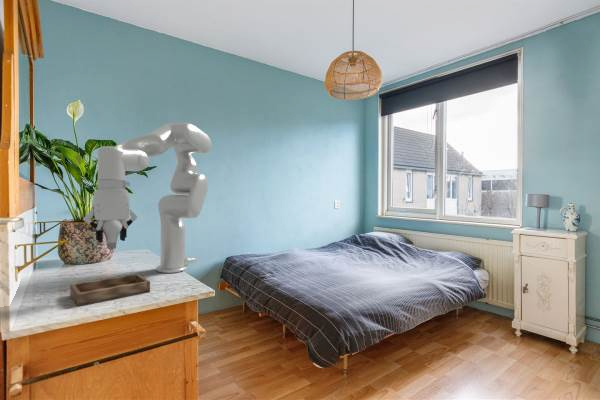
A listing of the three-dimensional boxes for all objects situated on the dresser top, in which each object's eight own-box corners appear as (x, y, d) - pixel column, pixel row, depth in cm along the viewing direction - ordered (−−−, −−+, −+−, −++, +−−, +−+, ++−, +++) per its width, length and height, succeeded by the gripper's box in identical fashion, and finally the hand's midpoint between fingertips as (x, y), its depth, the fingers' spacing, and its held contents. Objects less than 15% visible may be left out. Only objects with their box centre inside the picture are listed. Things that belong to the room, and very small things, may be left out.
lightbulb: (126, 248, 105) (126, 215, 104) (113, 252, 99) (114, 217, 98) (109, 247, 105) (109, 215, 105) (95, 251, 99) (95, 216, 99)
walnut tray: (138, 283, 114) (138, 273, 114) (149, 291, 105) (150, 281, 105) (70, 295, 100) (70, 284, 100) (77, 306, 91) (77, 294, 91)
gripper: (136, 185, 110) (136, 237, 110) (77, 184, 98) (77, 242, 98) (144, 186, 104) (143, 240, 105) (82, 185, 92) (82, 246, 93)
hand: (111, 240), depth 102 cm, fingers closed on lightbulb, 5 cm apart
